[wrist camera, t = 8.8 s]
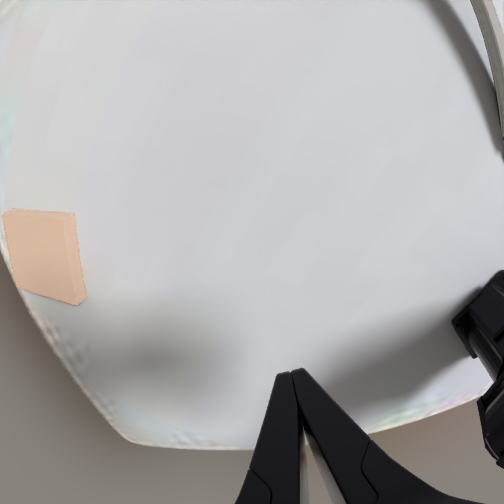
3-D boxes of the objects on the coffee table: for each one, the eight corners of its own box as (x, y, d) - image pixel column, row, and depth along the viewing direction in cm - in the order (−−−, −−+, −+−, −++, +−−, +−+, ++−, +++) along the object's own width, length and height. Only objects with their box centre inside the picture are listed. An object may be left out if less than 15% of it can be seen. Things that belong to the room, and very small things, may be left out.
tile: (62, 219, 17) (1, 213, 17) (77, 305, 20) (17, 287, 20) (78, 211, 19) (16, 207, 19) (90, 293, 21) (29, 277, 22)
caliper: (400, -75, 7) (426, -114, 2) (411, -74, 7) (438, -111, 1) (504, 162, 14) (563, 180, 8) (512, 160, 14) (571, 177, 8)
